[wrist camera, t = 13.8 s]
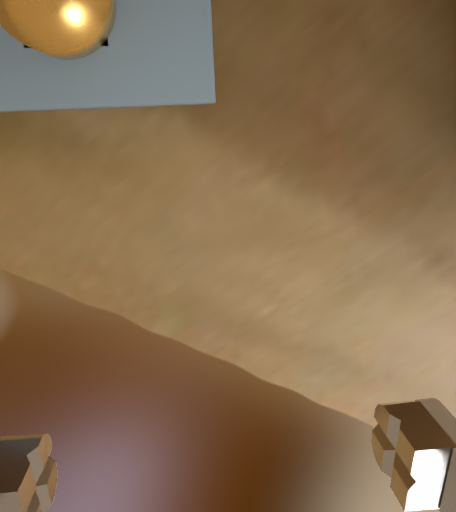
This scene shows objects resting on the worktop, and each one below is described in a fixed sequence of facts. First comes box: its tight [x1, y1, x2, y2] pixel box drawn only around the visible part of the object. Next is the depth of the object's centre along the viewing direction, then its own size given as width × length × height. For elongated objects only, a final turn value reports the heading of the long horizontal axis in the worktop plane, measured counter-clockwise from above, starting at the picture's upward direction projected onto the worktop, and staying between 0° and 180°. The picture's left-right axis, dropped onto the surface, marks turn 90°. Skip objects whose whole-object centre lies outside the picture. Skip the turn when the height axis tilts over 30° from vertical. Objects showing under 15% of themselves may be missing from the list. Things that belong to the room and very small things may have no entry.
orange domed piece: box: [0, 0, 116, 60], centre depth 24 cm, size 6×6×8 cm
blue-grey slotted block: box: [0, 0, 216, 112], centre depth 25 cm, size 12×18×5 cm, turn 93°
